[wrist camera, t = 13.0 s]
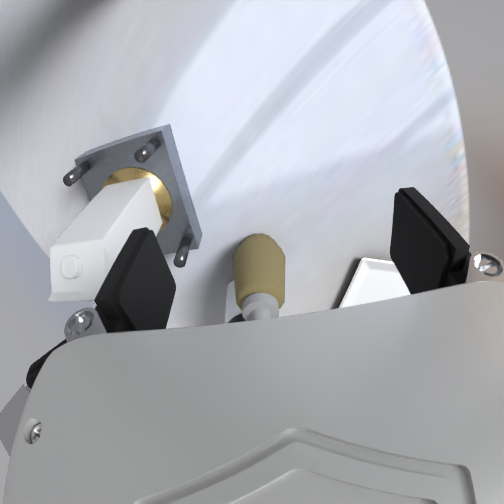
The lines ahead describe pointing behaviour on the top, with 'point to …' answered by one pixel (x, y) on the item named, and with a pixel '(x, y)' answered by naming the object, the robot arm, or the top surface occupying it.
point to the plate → (374, 283)
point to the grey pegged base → (162, 179)
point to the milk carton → (100, 238)
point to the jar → (232, 306)
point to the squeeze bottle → (259, 277)
